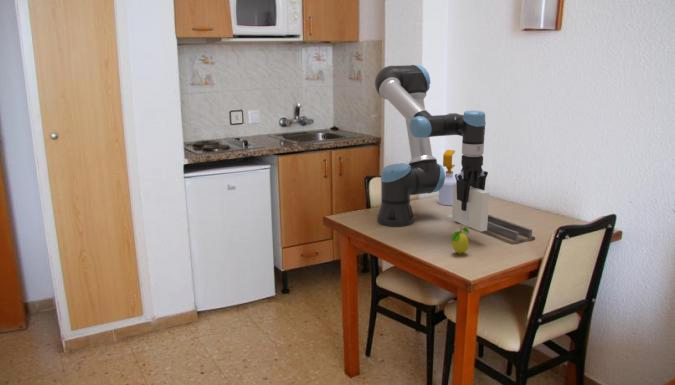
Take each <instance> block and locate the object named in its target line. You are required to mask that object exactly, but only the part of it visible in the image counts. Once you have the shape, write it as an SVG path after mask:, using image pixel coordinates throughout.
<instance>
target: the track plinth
mask: <svg viewBox="0 0 675 385" xmlns="http://www.w3.org/2000/svg"><path fill="white" fill-rule="evenodd" d="M468 229H471V230H474V231H477V232H480V231H478V230H475V229H473V228H471V227H468ZM480 233H482V234H485V235H487V236H490V237H493V238H495V239H497V240H500V241H502V242H506V243H508V244H510V245H516V244H521V243H525V242H529V241H530V242H531V241H534V240H536V237H535V235H534V236H533V229H531V228H528V227H525V226H522V225H520V224H516V223H514V222H510V221H507V220H505V219H501V218H500V217H496V216H493V215H490V214H488V223H487V230H486V231H481V232H480Z"/></svg>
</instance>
